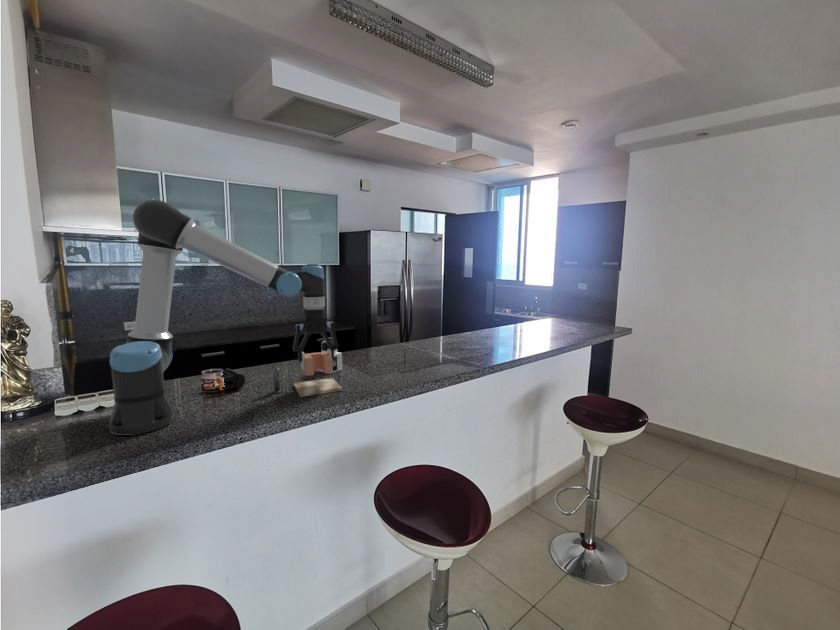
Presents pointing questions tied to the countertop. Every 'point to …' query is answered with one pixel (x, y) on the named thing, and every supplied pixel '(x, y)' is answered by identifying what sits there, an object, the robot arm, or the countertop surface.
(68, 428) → the countertop surface
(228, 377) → the end cap
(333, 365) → the container
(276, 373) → the stand
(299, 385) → the board
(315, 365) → the c link
